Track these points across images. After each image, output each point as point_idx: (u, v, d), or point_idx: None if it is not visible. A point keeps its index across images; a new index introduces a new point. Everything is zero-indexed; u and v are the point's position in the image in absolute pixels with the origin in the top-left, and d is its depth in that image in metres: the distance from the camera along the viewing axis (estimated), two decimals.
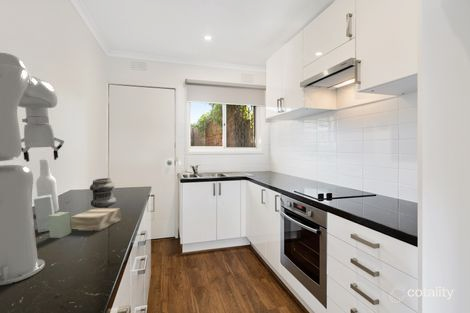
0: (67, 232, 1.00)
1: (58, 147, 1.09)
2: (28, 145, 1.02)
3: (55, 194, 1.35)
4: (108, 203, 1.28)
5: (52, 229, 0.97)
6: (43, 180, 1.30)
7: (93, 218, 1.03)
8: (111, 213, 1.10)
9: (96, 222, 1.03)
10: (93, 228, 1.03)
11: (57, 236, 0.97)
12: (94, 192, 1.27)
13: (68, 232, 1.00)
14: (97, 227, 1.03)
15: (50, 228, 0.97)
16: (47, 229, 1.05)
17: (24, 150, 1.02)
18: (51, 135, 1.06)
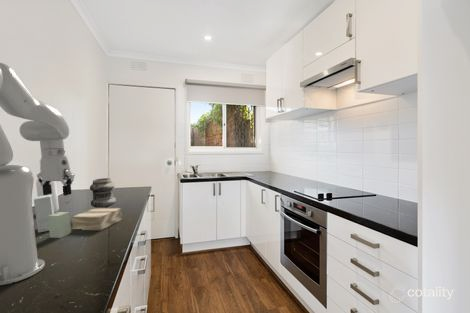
0: (67, 232, 1.00)
1: None
2: None
3: (55, 194, 1.35)
4: (108, 203, 1.28)
5: (52, 229, 0.97)
6: None
7: (94, 218, 1.03)
8: (112, 213, 1.10)
9: (98, 222, 1.03)
10: (94, 228, 1.04)
11: (57, 236, 0.97)
12: (94, 192, 1.27)
13: (68, 232, 1.00)
14: (98, 226, 1.03)
15: (50, 228, 0.97)
16: (47, 229, 1.05)
17: None
18: None
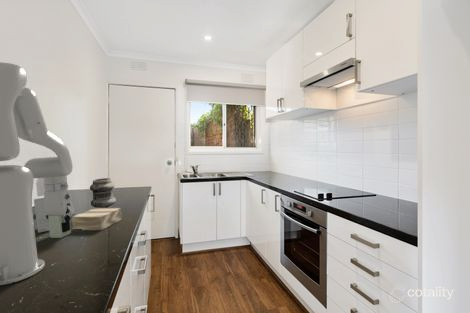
0: (67, 232, 1.00)
1: None
2: None
3: None
4: (108, 203, 1.28)
5: (52, 229, 0.97)
6: (43, 180, 1.30)
7: (95, 218, 1.03)
8: (112, 213, 1.11)
9: (98, 222, 1.03)
10: (95, 228, 1.04)
11: (57, 236, 0.97)
12: (94, 192, 1.27)
13: (68, 232, 1.00)
14: (99, 226, 1.03)
15: (50, 228, 0.97)
16: (47, 229, 1.05)
17: None
18: None
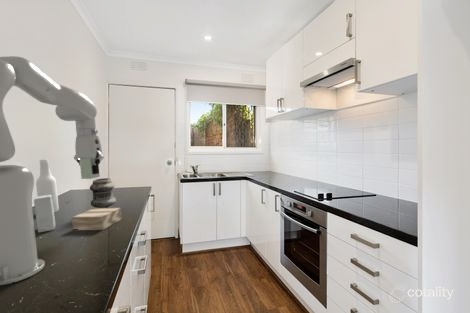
0: (96, 175, 1.09)
1: None
2: None
3: (55, 194, 1.35)
4: (108, 203, 1.28)
5: (83, 171, 1.06)
6: (43, 180, 1.30)
7: (96, 217, 1.03)
8: (113, 212, 1.11)
9: (100, 221, 1.03)
10: (96, 227, 1.04)
11: (88, 177, 1.06)
12: (94, 192, 1.27)
13: (97, 175, 1.09)
14: (101, 226, 1.03)
15: (81, 170, 1.06)
16: (47, 229, 1.05)
17: None
18: None
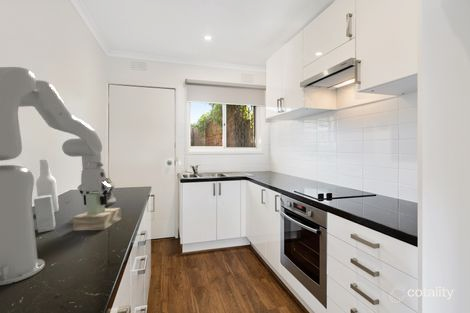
0: (102, 209, 1.11)
1: None
2: None
3: (55, 194, 1.35)
4: (108, 203, 1.28)
5: (89, 206, 1.08)
6: (43, 180, 1.30)
7: (98, 217, 1.04)
8: (113, 212, 1.11)
9: (101, 221, 1.04)
10: (97, 227, 1.04)
11: (94, 212, 1.08)
12: None
13: (103, 210, 1.11)
14: (102, 226, 1.04)
15: (87, 205, 1.08)
16: (47, 229, 1.05)
17: None
18: None
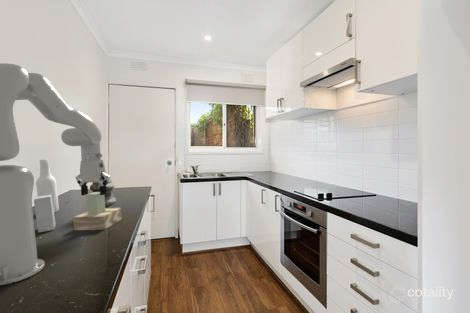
0: (102, 210, 1.11)
1: None
2: None
3: (55, 194, 1.35)
4: (108, 203, 1.28)
5: (90, 206, 1.08)
6: (43, 180, 1.30)
7: (98, 217, 1.04)
8: (114, 212, 1.12)
9: (102, 221, 1.04)
10: (98, 227, 1.04)
11: (95, 212, 1.08)
12: None
13: (103, 210, 1.11)
14: (103, 226, 1.04)
15: (88, 205, 1.08)
16: (47, 229, 1.05)
17: None
18: None
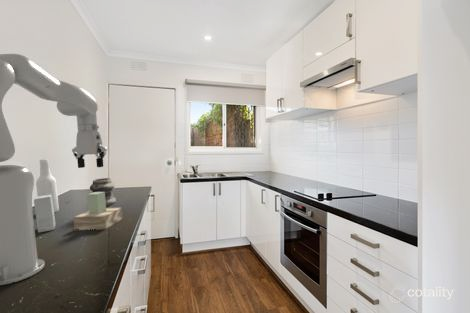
0: (103, 209, 1.11)
1: None
2: None
3: (55, 194, 1.35)
4: (108, 203, 1.28)
5: (91, 206, 1.08)
6: (43, 180, 1.30)
7: (99, 217, 1.04)
8: (114, 212, 1.12)
9: (102, 221, 1.04)
10: (99, 227, 1.04)
11: (95, 212, 1.08)
12: None
13: (104, 209, 1.11)
14: (103, 225, 1.04)
15: (89, 205, 1.08)
16: (47, 229, 1.05)
17: None
18: None
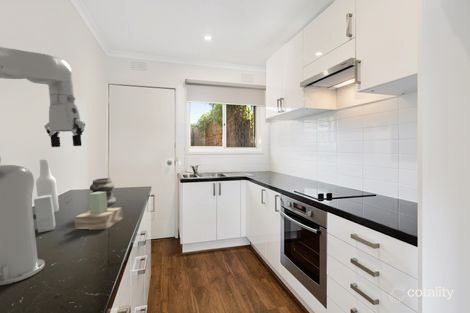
0: (105, 209, 1.11)
1: None
2: None
3: (55, 194, 1.35)
4: (108, 203, 1.28)
5: (92, 206, 1.09)
6: (43, 180, 1.30)
7: (99, 217, 1.04)
8: (115, 212, 1.12)
9: (103, 221, 1.04)
10: (99, 227, 1.05)
11: (97, 212, 1.08)
12: None
13: (105, 209, 1.12)
14: (104, 225, 1.04)
15: (90, 205, 1.09)
16: (47, 229, 1.05)
17: None
18: None
